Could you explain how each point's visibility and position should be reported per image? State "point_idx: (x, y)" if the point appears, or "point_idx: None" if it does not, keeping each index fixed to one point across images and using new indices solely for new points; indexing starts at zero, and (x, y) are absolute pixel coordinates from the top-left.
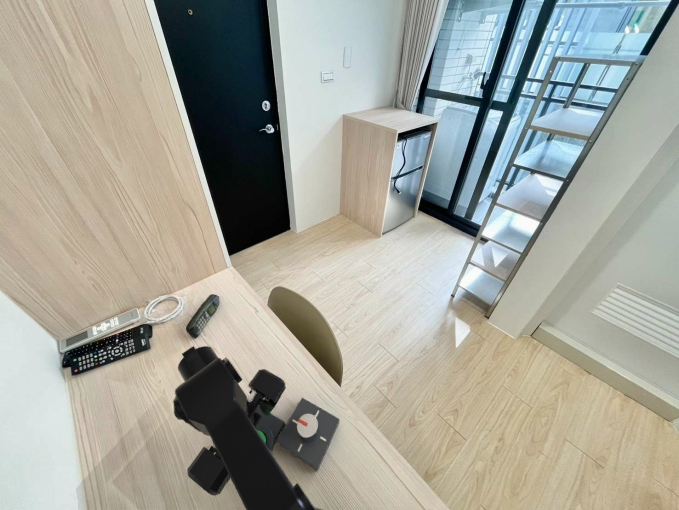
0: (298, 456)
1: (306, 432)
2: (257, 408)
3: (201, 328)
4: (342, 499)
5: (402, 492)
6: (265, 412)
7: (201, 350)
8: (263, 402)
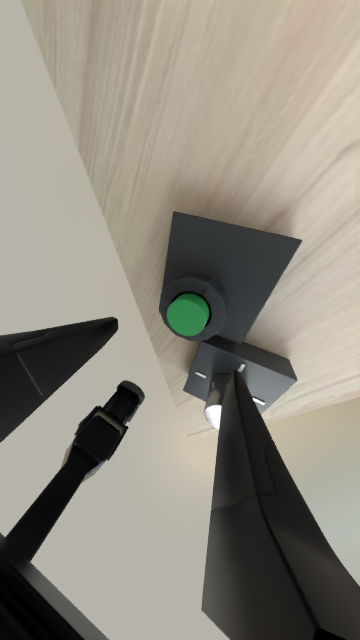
0: (190, 371)
1: (212, 417)
2: (272, 276)
3: None
4: (173, 392)
5: (191, 430)
6: (225, 409)
7: None
8: (231, 601)
